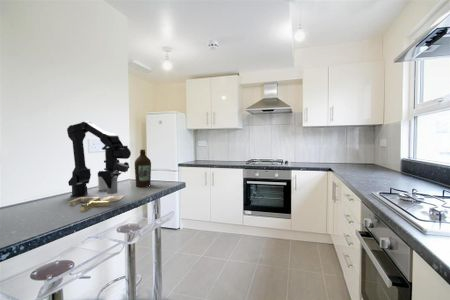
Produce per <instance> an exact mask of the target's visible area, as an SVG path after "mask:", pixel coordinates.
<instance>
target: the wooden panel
mask: <svg viewBox="0 0 450 300" xmlns="http://www.w3.org/2000/svg"><path fill="white" fill-rule="evenodd" d="M124 197H125V195H111V196H109V195H108V196H106V197H104V198H101V199H100V201H110V202H119V201H120V200H121V199H123V198H124Z"/></svg>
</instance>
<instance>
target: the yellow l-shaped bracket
mask: <svg viewBox="0 0 450 300" xmlns="http://www.w3.org/2000/svg"><path fill="white" fill-rule="evenodd" d="M110 206H111V201H92V202H83V203H81V204H80V209H79V210H80V212H86V211H87V210H89V209H91V208H92V207H110Z"/></svg>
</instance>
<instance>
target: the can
mask: <svg viewBox="0 0 450 300" xmlns="http://www.w3.org/2000/svg"><path fill="white" fill-rule="evenodd" d="M97 183H98V186H97V187H98V190H99V191H101V192H102V191H103V192H104V191H107V185H106V183H105V181H104V180H103V178H102V177H98V176H97Z"/></svg>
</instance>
